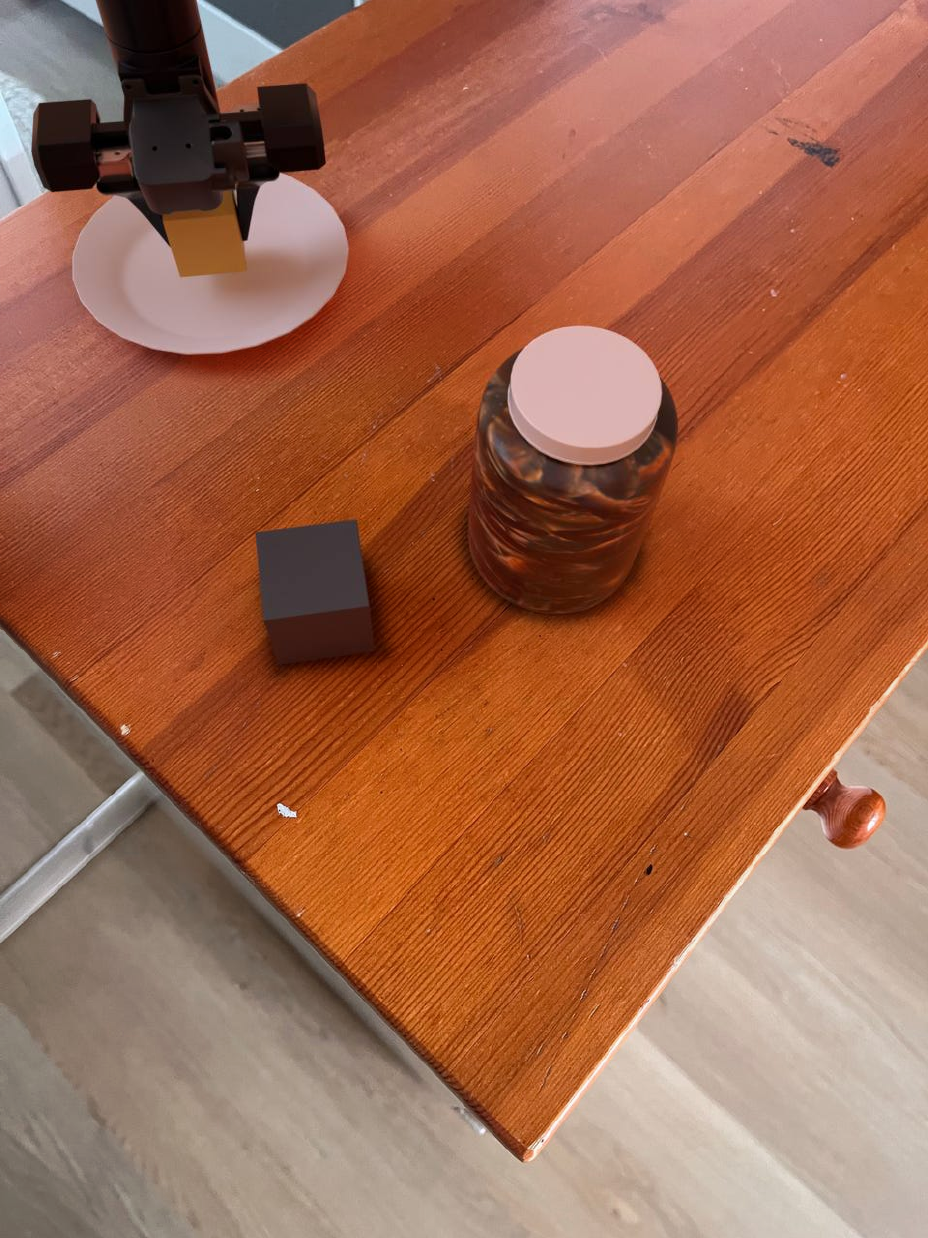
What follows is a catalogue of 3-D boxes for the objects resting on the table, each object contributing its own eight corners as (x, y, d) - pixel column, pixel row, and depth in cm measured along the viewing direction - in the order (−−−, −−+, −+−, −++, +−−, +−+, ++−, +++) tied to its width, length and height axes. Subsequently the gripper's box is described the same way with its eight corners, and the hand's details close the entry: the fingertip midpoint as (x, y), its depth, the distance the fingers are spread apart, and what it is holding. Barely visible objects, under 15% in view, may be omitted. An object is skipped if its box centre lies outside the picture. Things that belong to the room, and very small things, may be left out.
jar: (673, 563, 60) (742, 415, 47) (529, 644, 57) (560, 510, 44) (571, 442, 65) (608, 275, 51) (432, 511, 61) (434, 352, 48)
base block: (278, 665, 56) (263, 620, 50) (270, 582, 58) (255, 531, 53) (375, 651, 56) (369, 605, 51) (362, 570, 59) (356, 518, 54)
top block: (179, 277, 68) (162, 220, 63) (177, 232, 70) (160, 174, 66) (247, 271, 68) (234, 214, 64) (242, 226, 71) (230, 168, 66)
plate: (170, 420, 64) (162, 398, 62) (34, 254, 71) (23, 230, 69) (403, 294, 71) (402, 271, 69) (257, 155, 78) (252, 130, 76)
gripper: (-16, 120, 50) (80, 331, 64) (322, 95, 52) (344, 304, 66) (-5, 5, 55) (82, 224, 69) (303, -14, 57) (327, 202, 71)
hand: (208, 240), depth 68 cm, fingers closed on top block, 5 cm apart
